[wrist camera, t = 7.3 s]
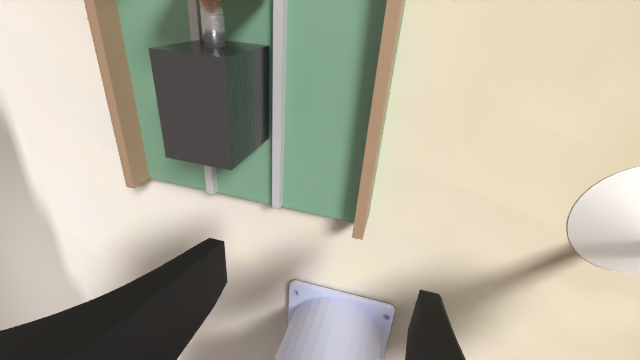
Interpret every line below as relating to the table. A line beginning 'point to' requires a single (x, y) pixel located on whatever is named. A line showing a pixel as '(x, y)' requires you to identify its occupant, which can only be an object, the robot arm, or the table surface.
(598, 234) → the champagne flute
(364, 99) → the pitch
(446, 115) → the table surface
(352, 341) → the robot arm
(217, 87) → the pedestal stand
